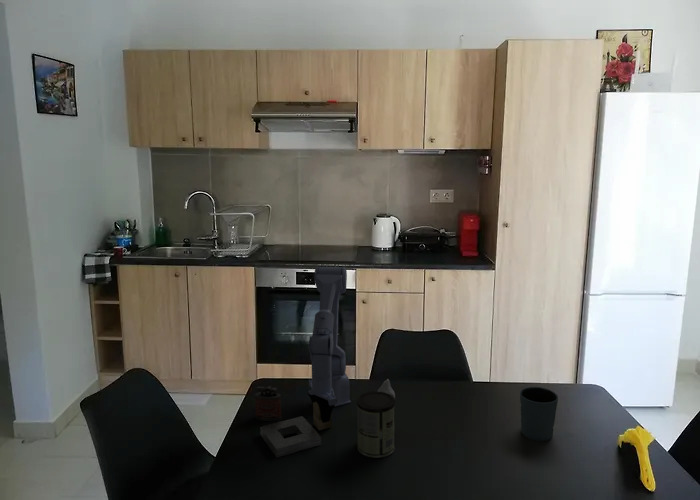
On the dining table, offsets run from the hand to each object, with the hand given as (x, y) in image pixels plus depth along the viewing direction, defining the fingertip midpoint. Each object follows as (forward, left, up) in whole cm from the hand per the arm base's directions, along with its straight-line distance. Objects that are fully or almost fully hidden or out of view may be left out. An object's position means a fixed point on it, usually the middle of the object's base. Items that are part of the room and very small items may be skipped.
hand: (322, 418), depth 154 cm
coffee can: (-8, +17, -3) cm, 19 cm away
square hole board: (+11, +2, -3) cm, 12 cm away
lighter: (+12, -13, -3) cm, 18 cm away
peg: (0, 0, -2) cm, 2 cm away
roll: (-20, +3, -3) cm, 20 cm away
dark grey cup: (-52, +33, -3) cm, 62 cm away
